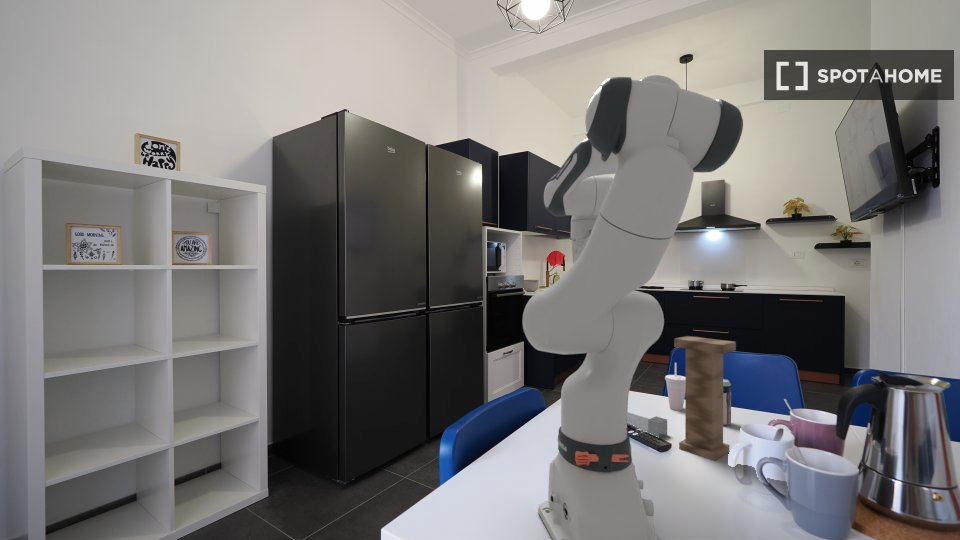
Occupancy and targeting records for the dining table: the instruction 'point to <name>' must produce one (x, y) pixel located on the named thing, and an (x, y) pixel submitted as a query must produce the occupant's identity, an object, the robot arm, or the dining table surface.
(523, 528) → the dining table surface
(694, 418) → the walnut stand
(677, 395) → the smoothie
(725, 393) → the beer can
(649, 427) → the grey long block
